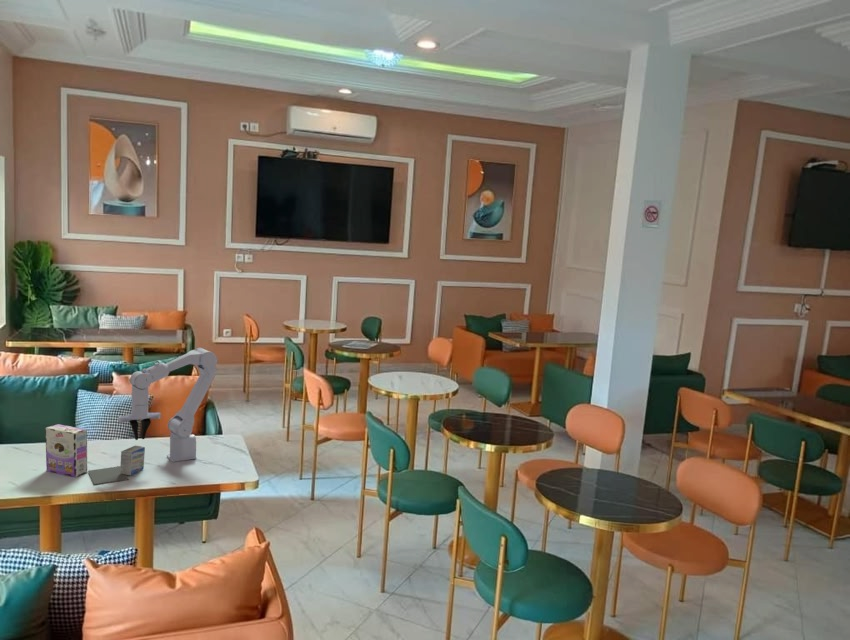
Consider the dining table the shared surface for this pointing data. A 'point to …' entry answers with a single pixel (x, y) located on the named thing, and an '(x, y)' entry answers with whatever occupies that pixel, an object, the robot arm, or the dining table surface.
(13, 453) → the dining table surface
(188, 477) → the dining table surface
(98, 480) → the mat
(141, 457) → the medicine box
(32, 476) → the dining table surface
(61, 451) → the candy box
